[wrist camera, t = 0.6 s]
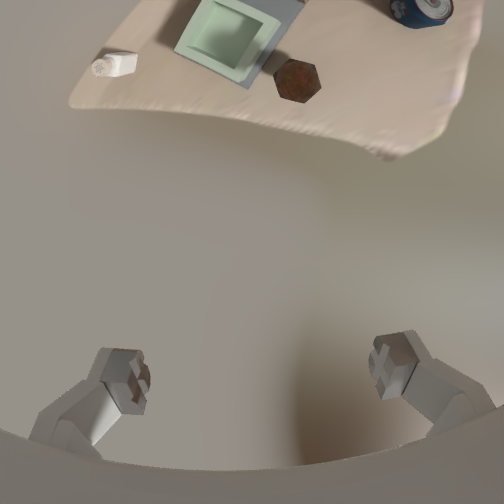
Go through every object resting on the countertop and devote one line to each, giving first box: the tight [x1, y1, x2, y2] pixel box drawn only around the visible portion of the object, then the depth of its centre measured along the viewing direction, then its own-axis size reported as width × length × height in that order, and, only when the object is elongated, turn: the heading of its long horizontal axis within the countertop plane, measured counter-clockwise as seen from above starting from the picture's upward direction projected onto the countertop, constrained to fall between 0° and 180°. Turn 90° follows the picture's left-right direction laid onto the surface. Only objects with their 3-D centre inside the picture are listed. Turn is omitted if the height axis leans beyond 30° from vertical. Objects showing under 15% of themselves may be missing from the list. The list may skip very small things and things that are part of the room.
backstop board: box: [177, 0, 309, 89], centre depth 35 cm, size 21×14×9 cm, turn 150°
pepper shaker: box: [92, 52, 138, 77], centre depth 41 cm, size 4×4×10 cm
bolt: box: [273, 59, 321, 103], centre depth 37 cm, size 6×5×15 cm
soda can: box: [390, 0, 454, 29], centre depth 27 cm, size 7×7×12 cm
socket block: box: [174, 0, 281, 82], centre depth 38 cm, size 12×12×5 cm
